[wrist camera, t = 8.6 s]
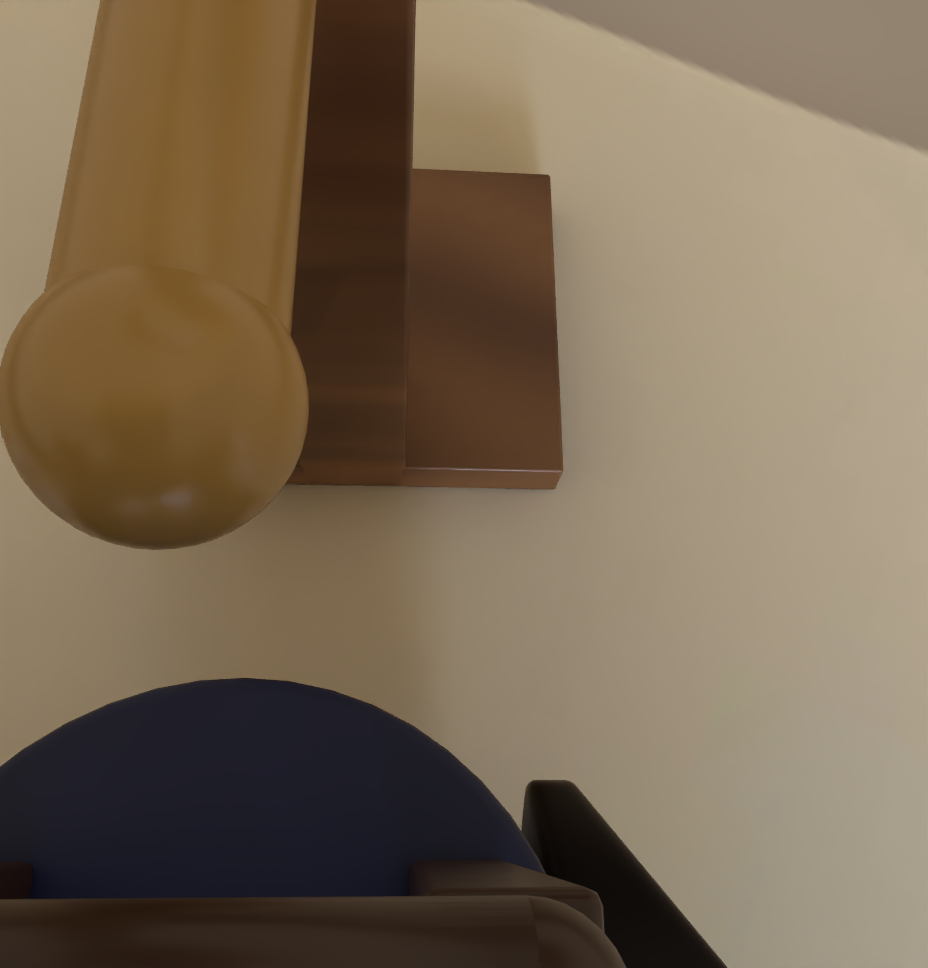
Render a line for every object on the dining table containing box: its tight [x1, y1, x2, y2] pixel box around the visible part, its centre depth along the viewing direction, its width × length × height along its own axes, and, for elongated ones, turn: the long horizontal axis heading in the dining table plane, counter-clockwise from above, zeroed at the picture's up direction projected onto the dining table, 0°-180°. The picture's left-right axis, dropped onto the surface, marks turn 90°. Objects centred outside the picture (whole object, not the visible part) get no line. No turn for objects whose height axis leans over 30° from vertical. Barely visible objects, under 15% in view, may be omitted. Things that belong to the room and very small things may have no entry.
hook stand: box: [0, 0, 563, 550], centre depth 11 cm, size 12×8×15 cm, turn 0°
